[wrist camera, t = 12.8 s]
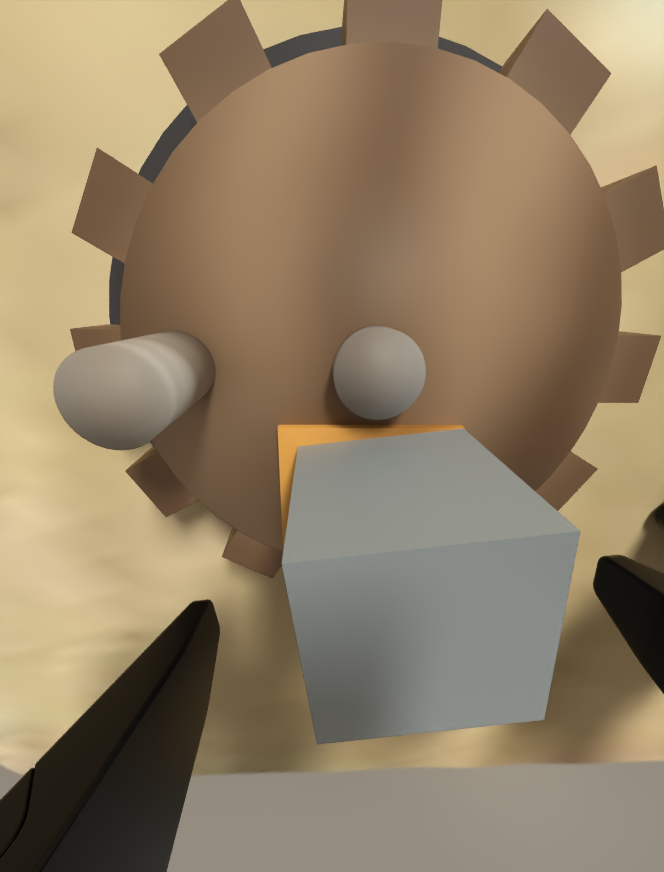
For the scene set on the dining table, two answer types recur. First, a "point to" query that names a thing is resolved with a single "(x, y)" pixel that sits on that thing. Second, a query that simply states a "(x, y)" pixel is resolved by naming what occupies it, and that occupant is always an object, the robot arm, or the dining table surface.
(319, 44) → the base plate
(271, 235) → the index wheel
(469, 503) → the block
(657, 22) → the dining table surface
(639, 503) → the dining table surface
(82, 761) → the robot arm
